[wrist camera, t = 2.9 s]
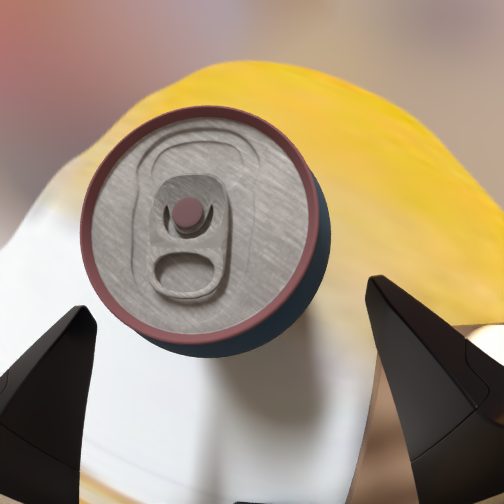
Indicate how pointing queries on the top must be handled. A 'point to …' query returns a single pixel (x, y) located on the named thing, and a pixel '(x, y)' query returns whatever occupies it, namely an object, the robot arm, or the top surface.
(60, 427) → the robot arm
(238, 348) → the soda can
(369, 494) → the plinth board
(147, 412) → the top surface
